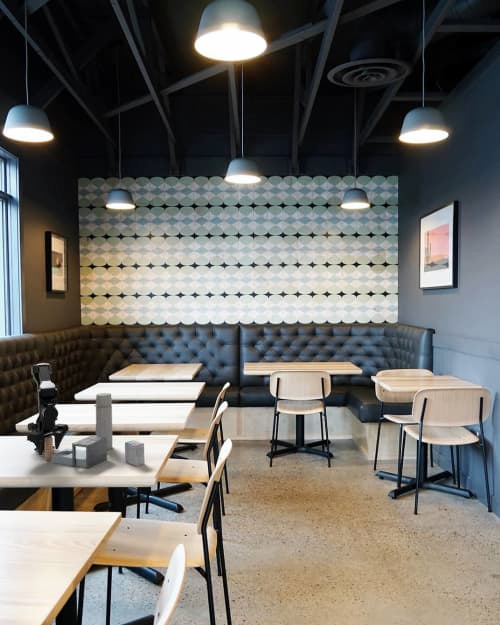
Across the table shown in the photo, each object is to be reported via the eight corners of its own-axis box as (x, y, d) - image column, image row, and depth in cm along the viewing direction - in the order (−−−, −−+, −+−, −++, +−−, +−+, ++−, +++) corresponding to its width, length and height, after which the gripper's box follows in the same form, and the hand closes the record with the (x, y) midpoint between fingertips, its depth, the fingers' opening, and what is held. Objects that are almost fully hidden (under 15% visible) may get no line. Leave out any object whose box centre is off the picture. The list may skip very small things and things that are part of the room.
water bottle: (116, 447, 228) (115, 393, 228) (103, 451, 222) (102, 396, 221) (103, 444, 233) (102, 391, 232) (89, 448, 226) (88, 394, 226)
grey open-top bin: (91, 457, 214) (91, 435, 213) (107, 459, 211) (106, 437, 211) (72, 466, 203) (72, 443, 202) (88, 468, 200) (87, 445, 199)
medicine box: (144, 464, 205) (144, 443, 205) (135, 466, 201) (135, 445, 201) (134, 459, 210) (133, 439, 210) (124, 462, 207) (124, 442, 207)
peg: (48, 457, 214) (48, 437, 214) (54, 458, 213) (54, 437, 213) (43, 459, 211) (42, 439, 211) (49, 460, 210) (48, 439, 210)
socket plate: (67, 455, 217) (67, 448, 217) (103, 459, 210) (103, 452, 210) (51, 462, 208) (51, 455, 208) (87, 467, 201) (87, 460, 201)
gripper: (49, 410, 223) (50, 444, 224) (16, 419, 206) (17, 456, 206) (69, 411, 219) (69, 446, 220) (37, 421, 202) (37, 459, 202)
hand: (48, 452), depth 212 cm, fingers open, 9 cm apart
